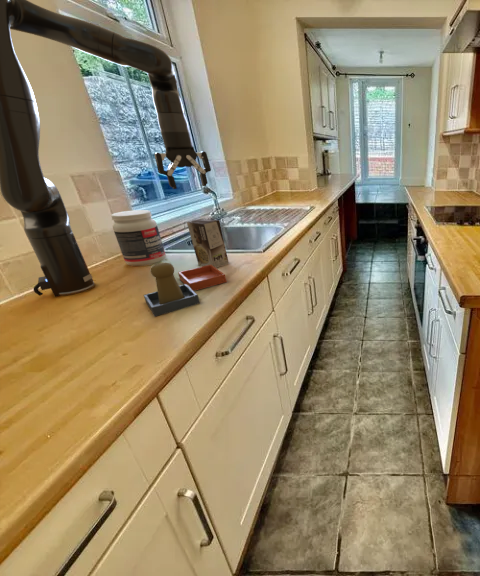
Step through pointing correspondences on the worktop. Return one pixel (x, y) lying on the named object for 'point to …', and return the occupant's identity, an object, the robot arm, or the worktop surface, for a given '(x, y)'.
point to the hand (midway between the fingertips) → (189, 187)
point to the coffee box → (208, 242)
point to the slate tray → (158, 309)
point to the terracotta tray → (202, 277)
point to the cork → (166, 283)
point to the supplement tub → (138, 237)
